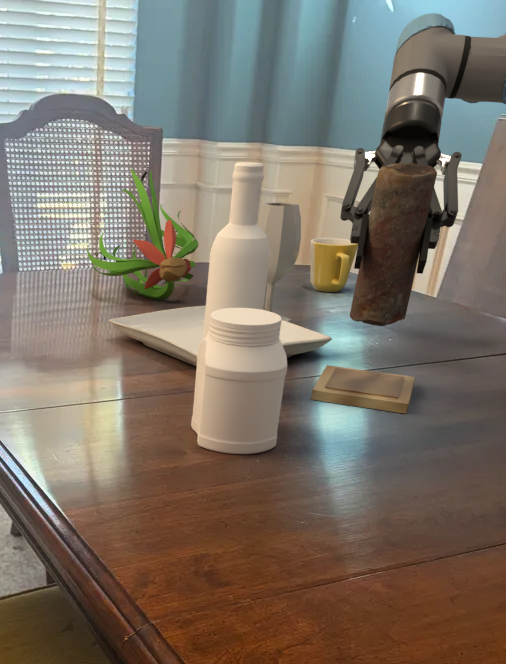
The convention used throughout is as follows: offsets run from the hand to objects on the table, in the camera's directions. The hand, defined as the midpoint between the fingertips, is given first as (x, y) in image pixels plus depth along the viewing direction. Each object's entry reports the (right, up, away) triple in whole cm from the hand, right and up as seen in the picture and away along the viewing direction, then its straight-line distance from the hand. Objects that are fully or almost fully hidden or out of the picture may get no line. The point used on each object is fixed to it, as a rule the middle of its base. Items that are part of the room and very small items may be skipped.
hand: (389, 264), depth 100 cm
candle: (+1, -6, +7) cm, 9 cm away
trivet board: (+1, -14, +12) cm, 19 cm away
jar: (-21, -23, -3) cm, 32 cm away
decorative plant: (-27, +17, +66) cm, 73 cm away
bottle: (-20, -15, +10) cm, 27 cm away
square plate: (-18, -3, +31) cm, 36 cm away
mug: (+13, +20, +73) cm, 77 cm away
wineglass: (-6, +5, +47) cm, 47 cm away
